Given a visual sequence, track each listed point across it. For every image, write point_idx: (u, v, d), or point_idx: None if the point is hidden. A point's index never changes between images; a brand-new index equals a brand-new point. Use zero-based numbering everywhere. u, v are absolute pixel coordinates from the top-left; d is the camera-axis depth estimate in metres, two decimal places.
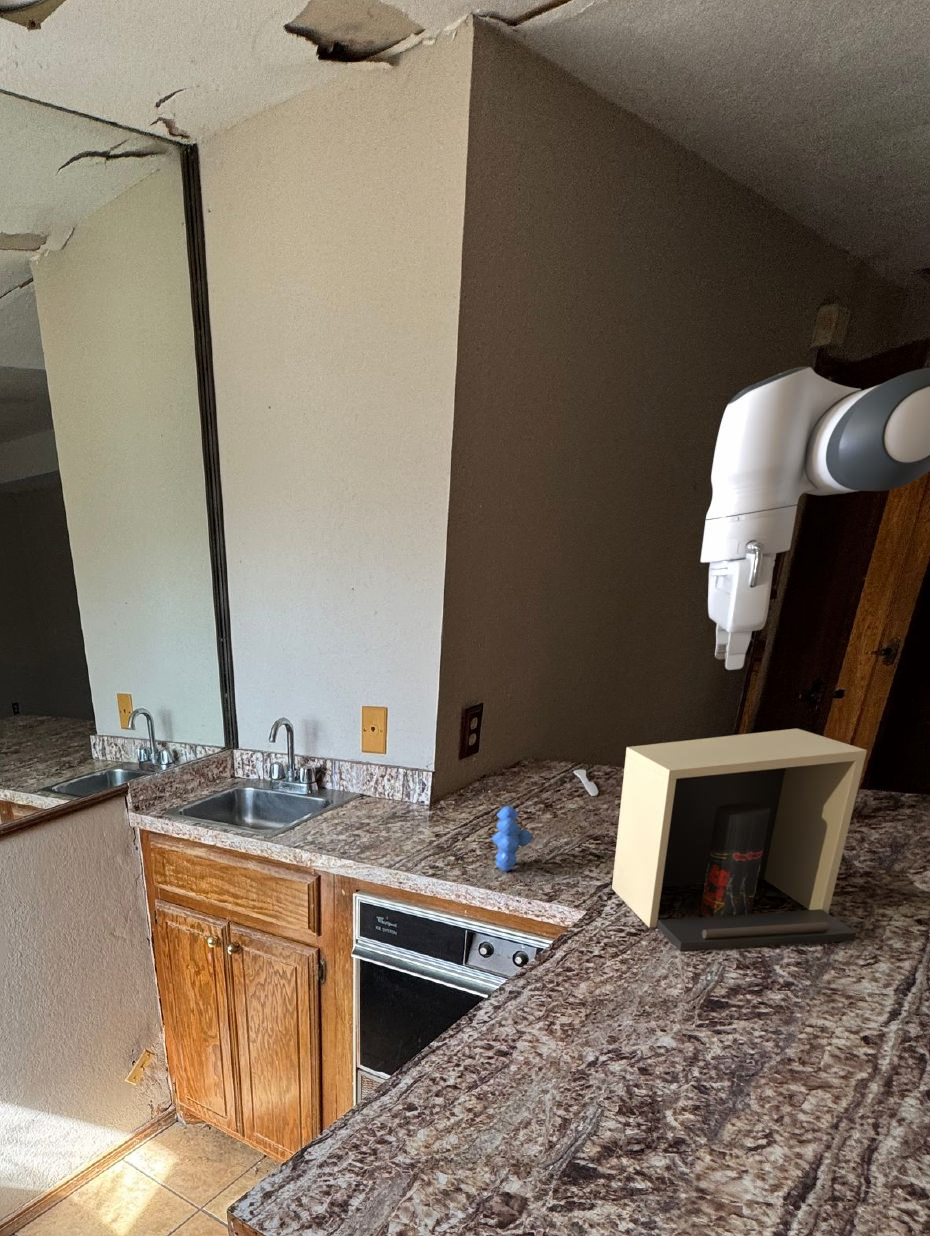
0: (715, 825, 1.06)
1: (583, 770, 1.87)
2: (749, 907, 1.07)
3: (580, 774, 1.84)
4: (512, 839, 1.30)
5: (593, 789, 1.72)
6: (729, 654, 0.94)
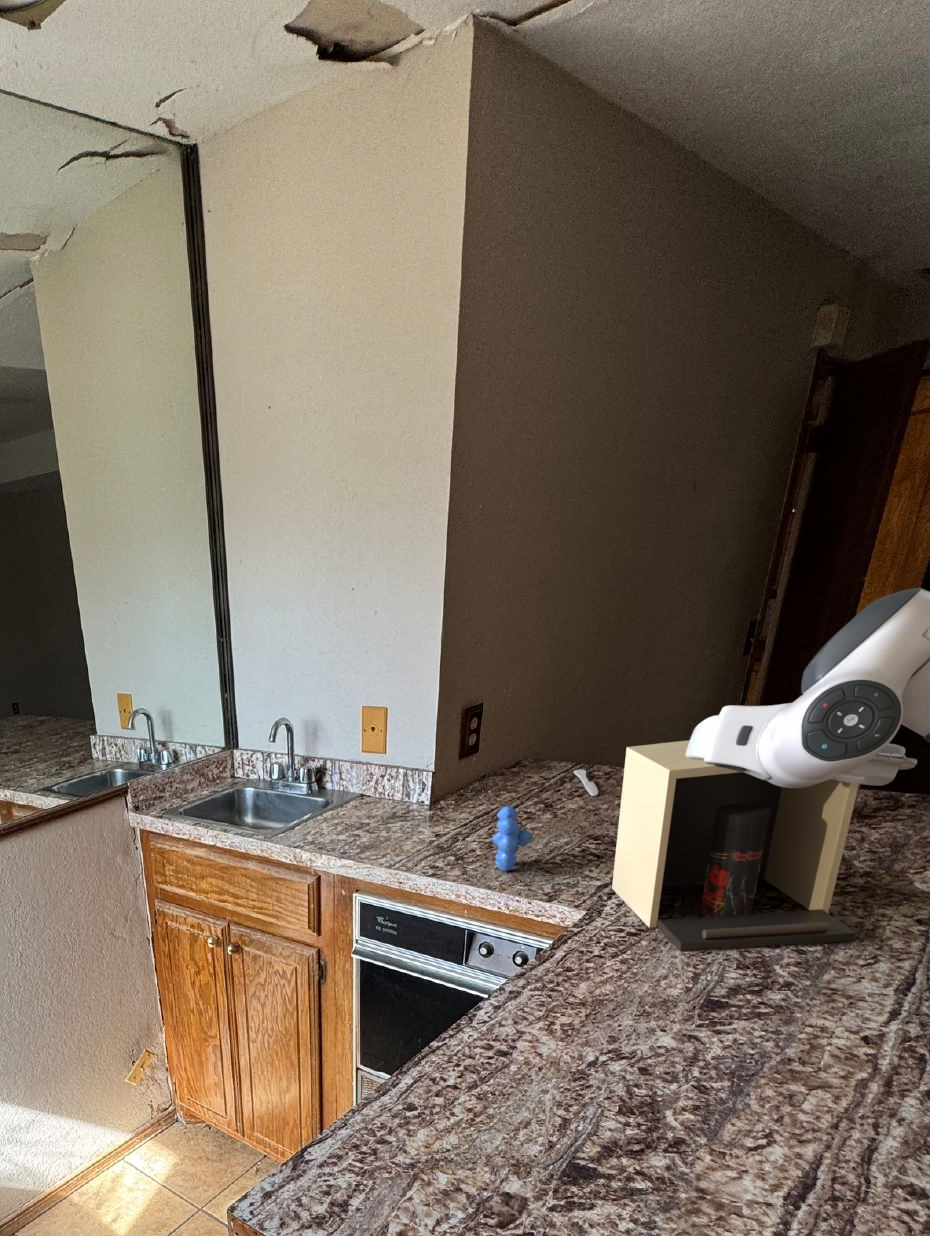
0: (715, 825, 1.06)
1: (583, 770, 1.87)
2: (749, 907, 1.07)
3: (580, 774, 1.84)
4: (512, 839, 1.30)
5: (593, 789, 1.72)
6: None
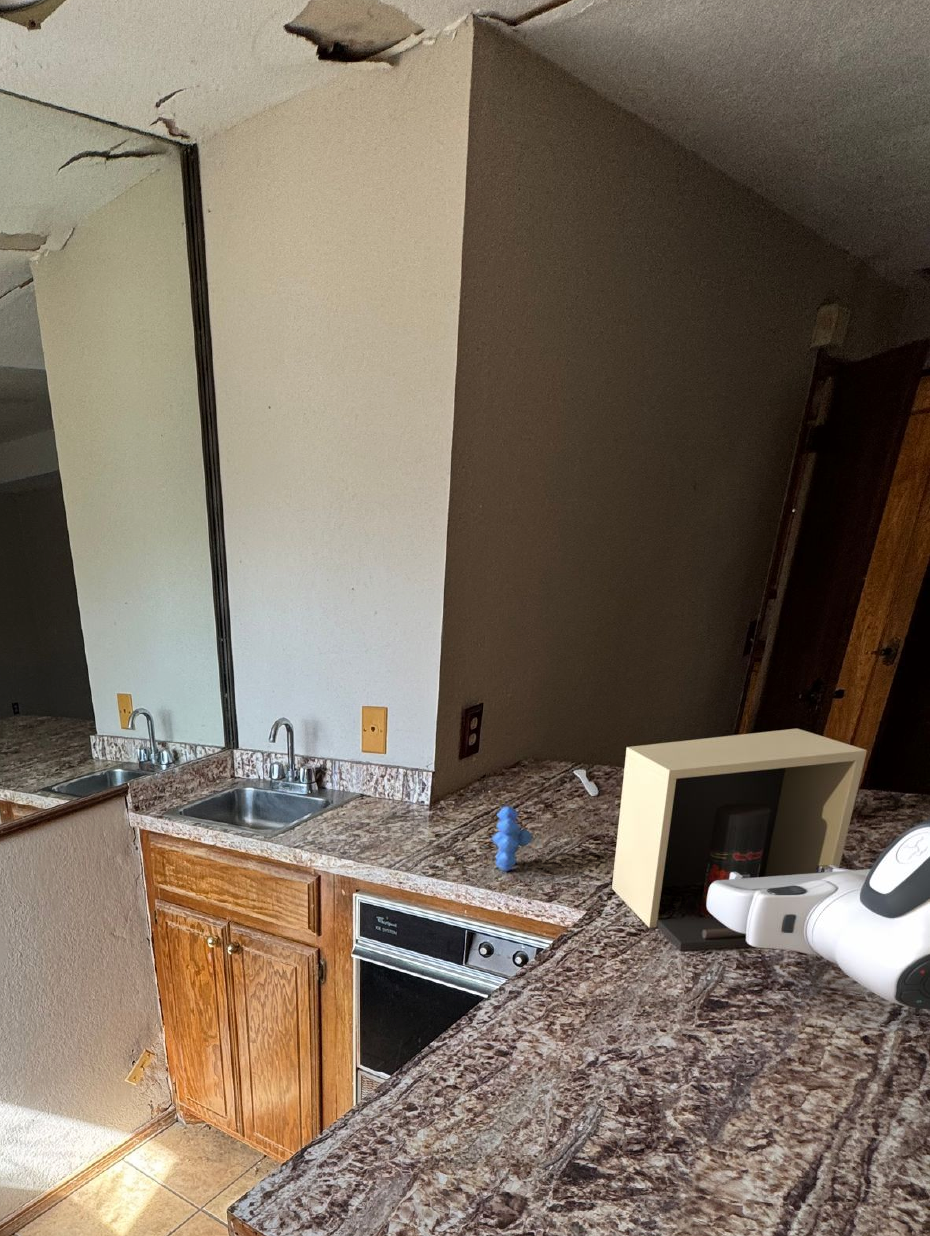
0: (715, 825, 1.06)
1: (583, 770, 1.87)
2: None
3: (580, 774, 1.84)
4: (512, 839, 1.30)
5: (593, 789, 1.72)
6: None
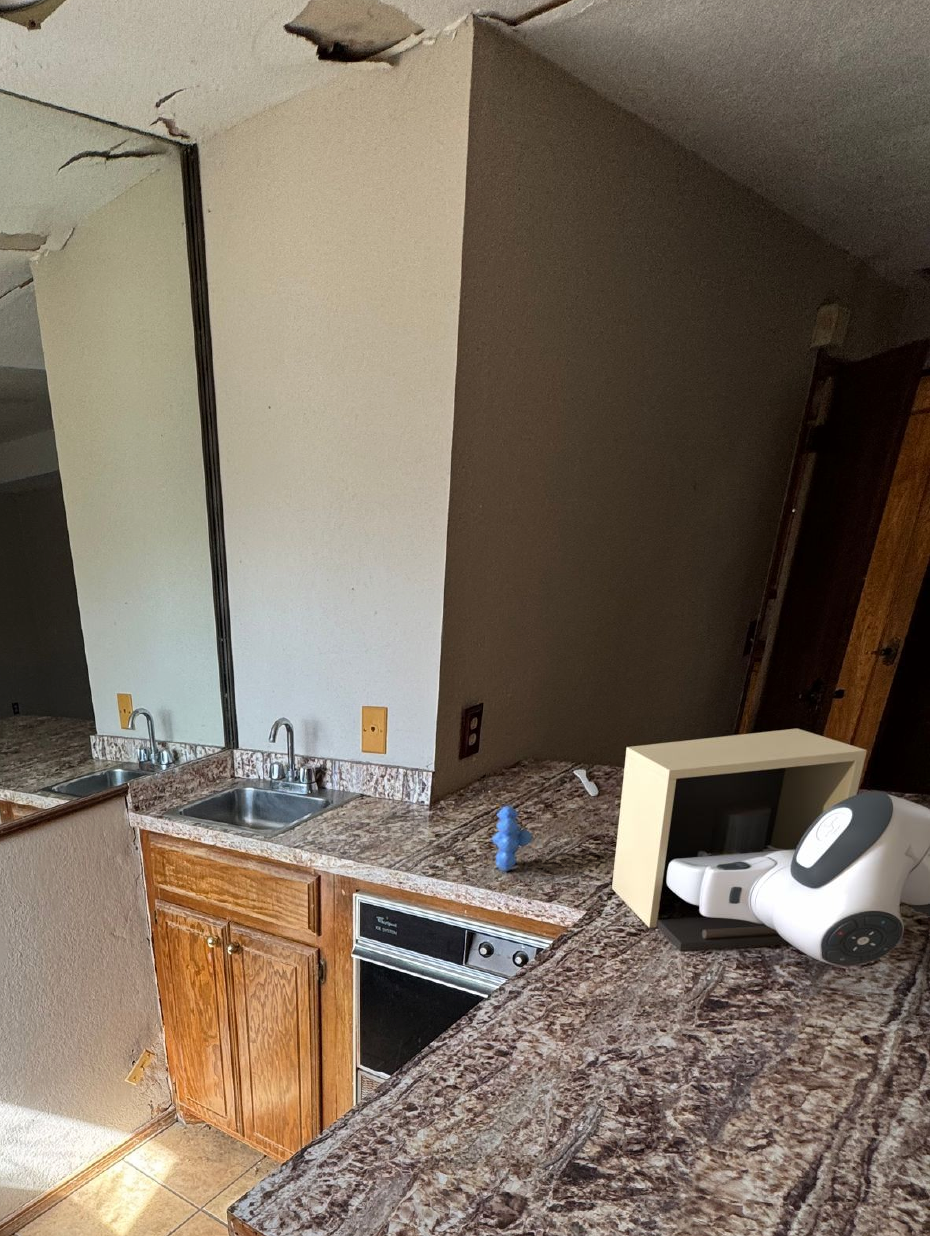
0: (715, 825, 1.06)
1: (583, 770, 1.87)
2: None
3: (580, 774, 1.84)
4: (512, 839, 1.30)
5: (593, 789, 1.72)
6: None
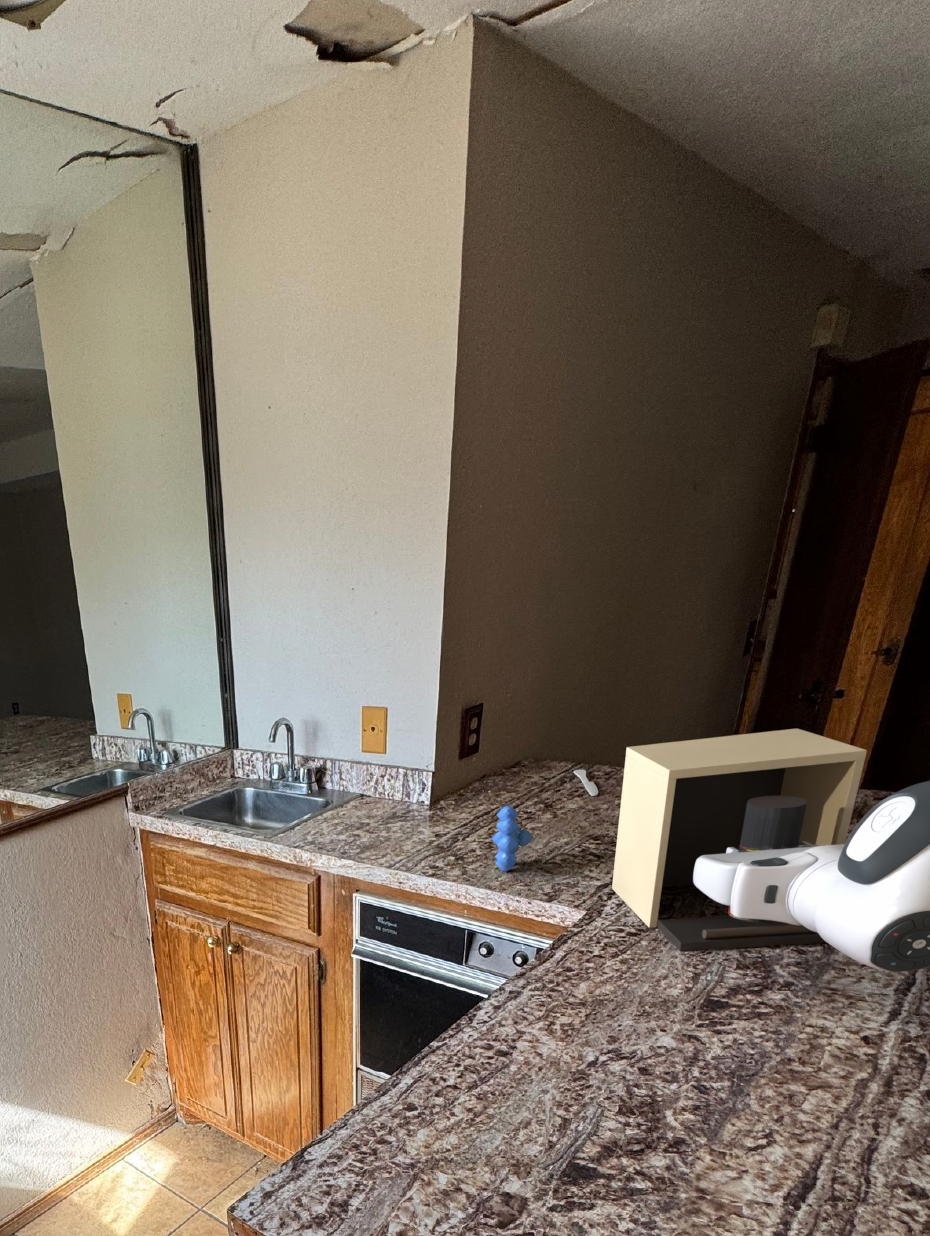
0: (746, 819, 0.98)
1: (583, 770, 1.87)
2: None
3: (580, 774, 1.84)
4: (512, 839, 1.30)
5: (593, 789, 1.72)
6: None
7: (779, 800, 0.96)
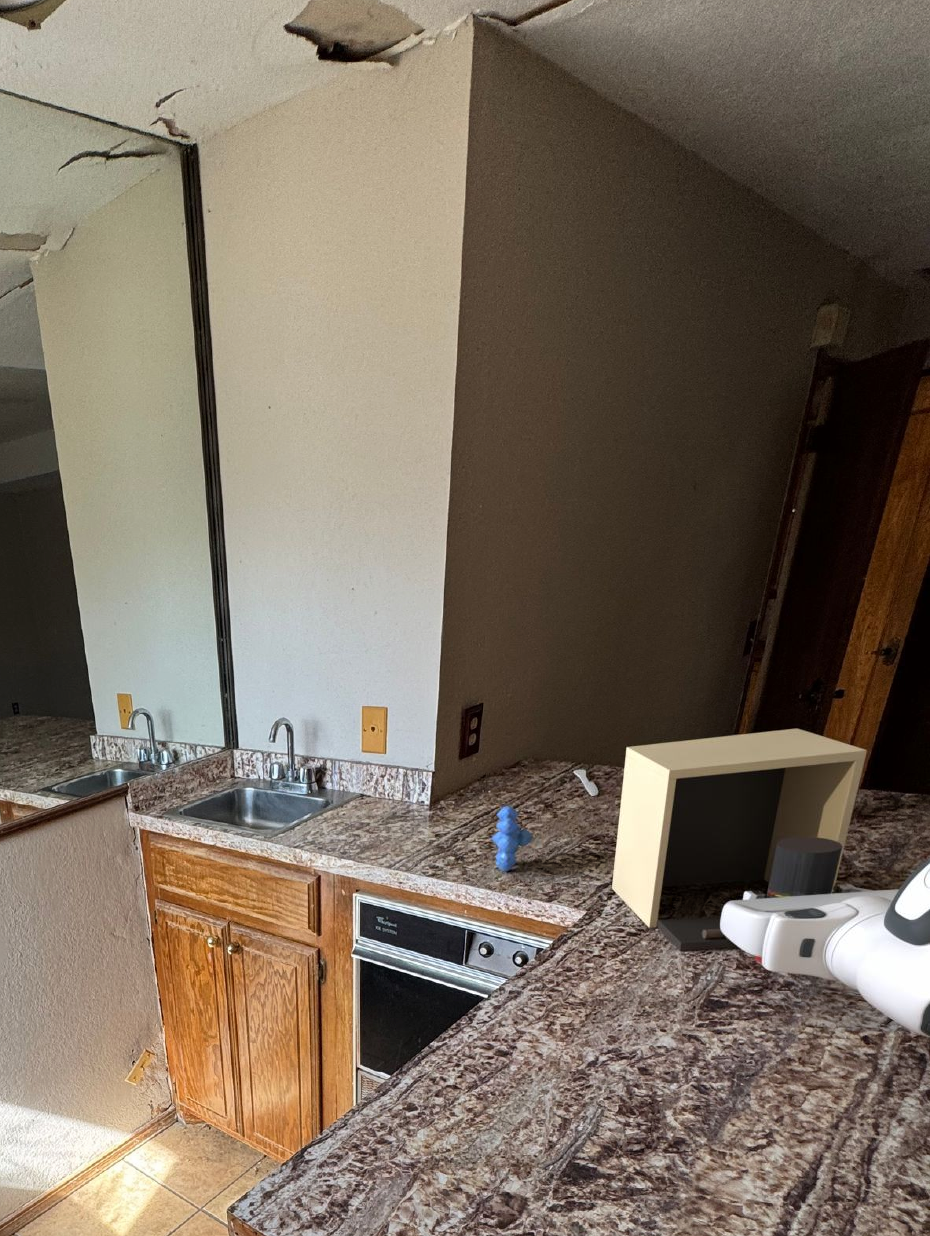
0: (776, 862, 0.92)
1: (583, 770, 1.87)
2: None
3: (580, 774, 1.84)
4: (512, 839, 1.30)
5: (593, 789, 1.72)
6: None
7: (811, 843, 0.90)
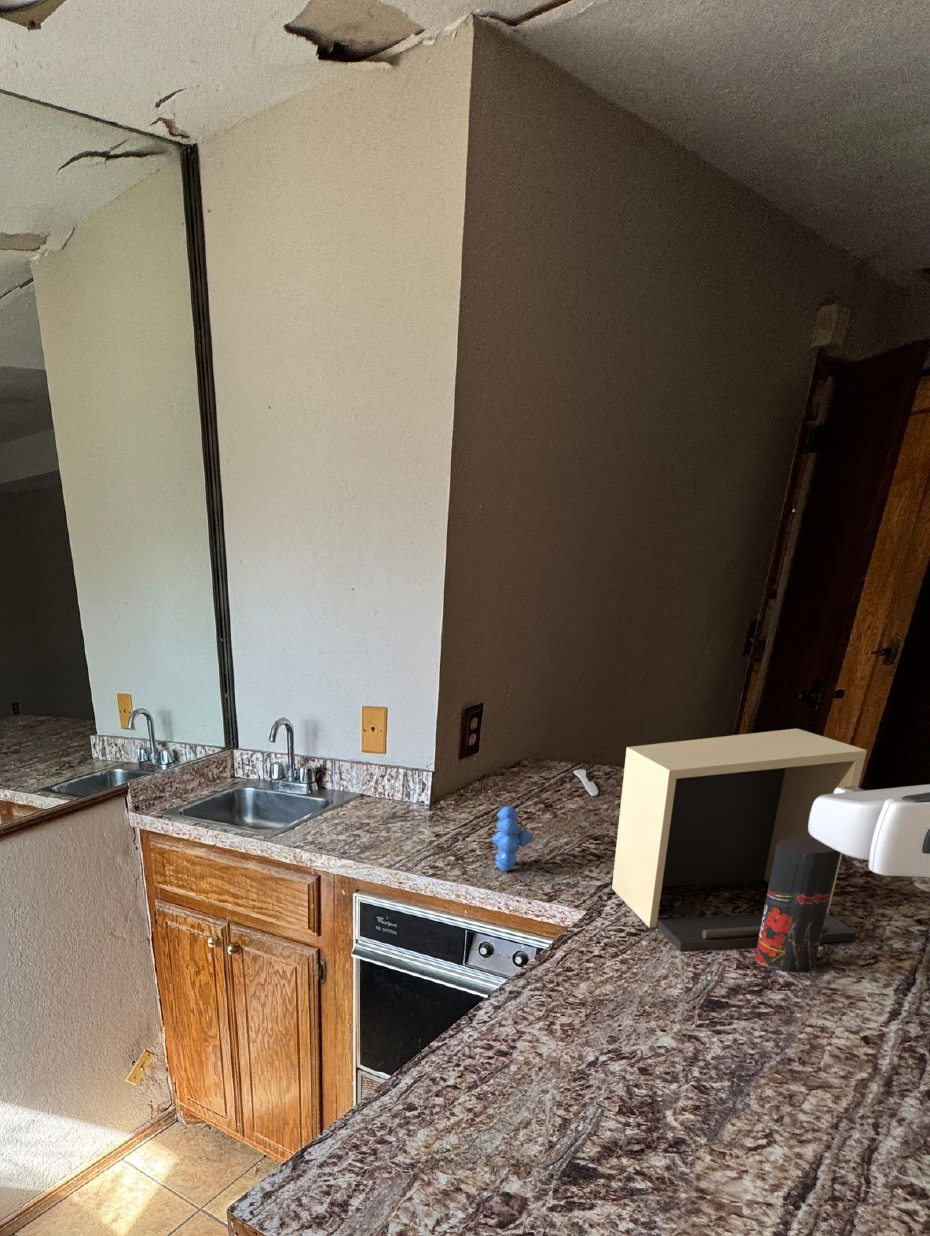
0: (776, 862, 0.92)
1: (583, 770, 1.87)
2: (813, 955, 0.93)
3: (580, 774, 1.84)
4: (512, 839, 1.30)
5: (593, 789, 1.72)
6: None
7: (811, 843, 0.90)
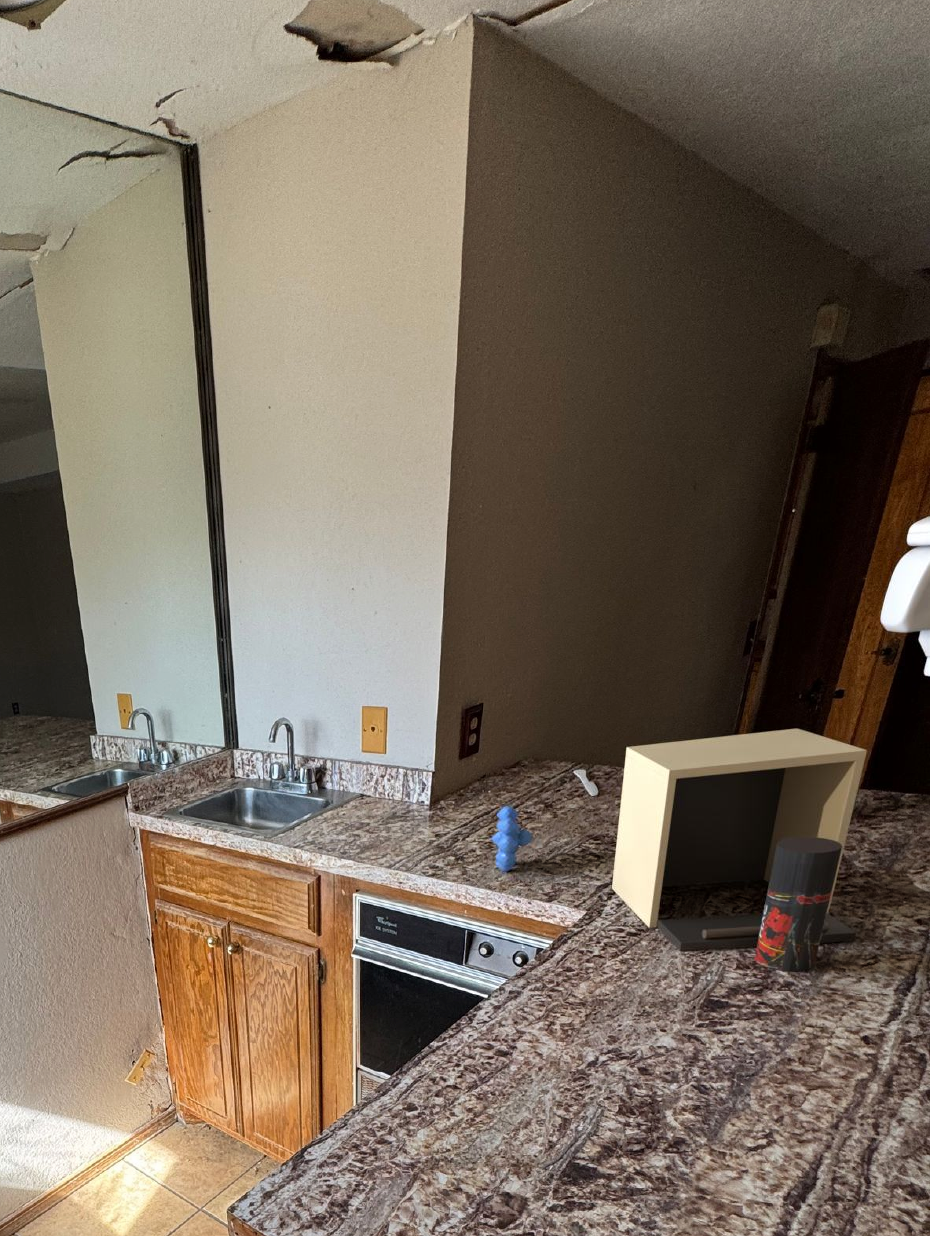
0: (776, 862, 0.92)
1: (583, 770, 1.87)
2: (813, 955, 0.93)
3: (580, 774, 1.84)
4: (512, 839, 1.30)
5: (593, 789, 1.72)
6: None
7: (811, 843, 0.90)
